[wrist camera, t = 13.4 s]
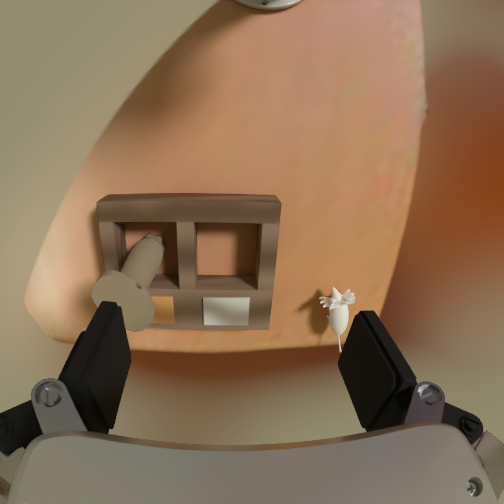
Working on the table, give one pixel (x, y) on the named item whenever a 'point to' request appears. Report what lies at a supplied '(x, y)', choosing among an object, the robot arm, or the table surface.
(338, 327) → the white animal figurine
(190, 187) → the table surface
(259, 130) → the table surface
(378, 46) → the table surface
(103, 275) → the handle
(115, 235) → the socket block
